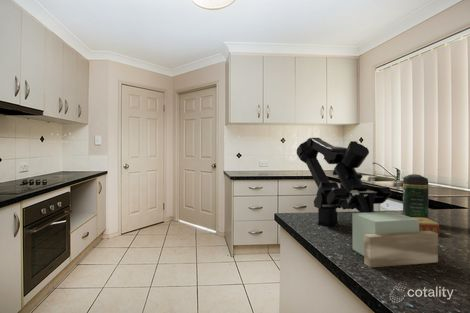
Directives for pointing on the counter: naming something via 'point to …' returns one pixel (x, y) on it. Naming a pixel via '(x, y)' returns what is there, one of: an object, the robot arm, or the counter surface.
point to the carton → (427, 225)
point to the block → (379, 226)
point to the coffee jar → (415, 196)
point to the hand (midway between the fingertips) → (372, 220)
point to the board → (400, 248)
